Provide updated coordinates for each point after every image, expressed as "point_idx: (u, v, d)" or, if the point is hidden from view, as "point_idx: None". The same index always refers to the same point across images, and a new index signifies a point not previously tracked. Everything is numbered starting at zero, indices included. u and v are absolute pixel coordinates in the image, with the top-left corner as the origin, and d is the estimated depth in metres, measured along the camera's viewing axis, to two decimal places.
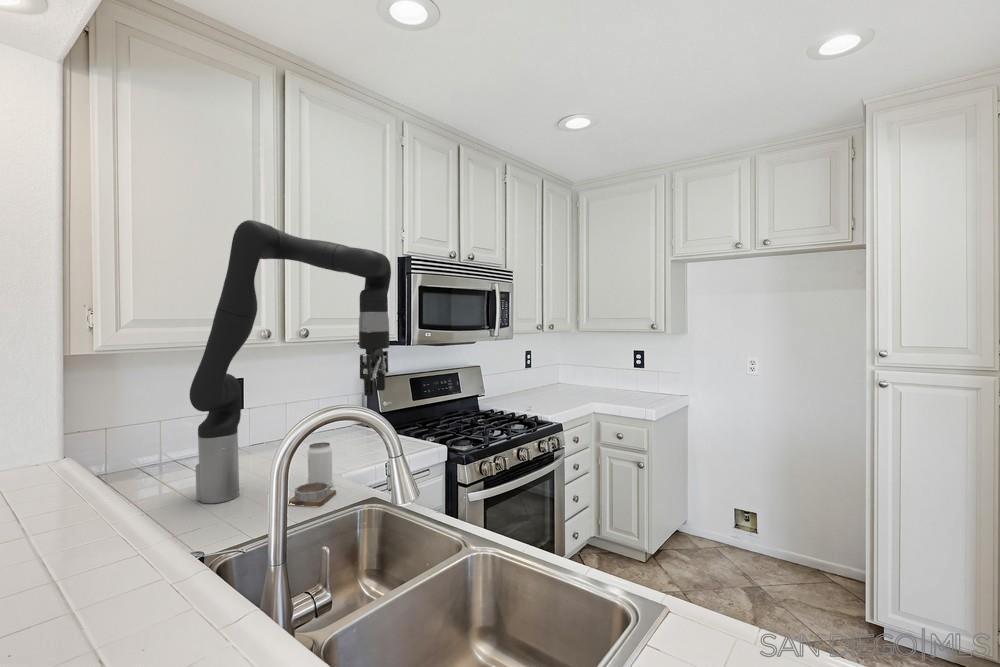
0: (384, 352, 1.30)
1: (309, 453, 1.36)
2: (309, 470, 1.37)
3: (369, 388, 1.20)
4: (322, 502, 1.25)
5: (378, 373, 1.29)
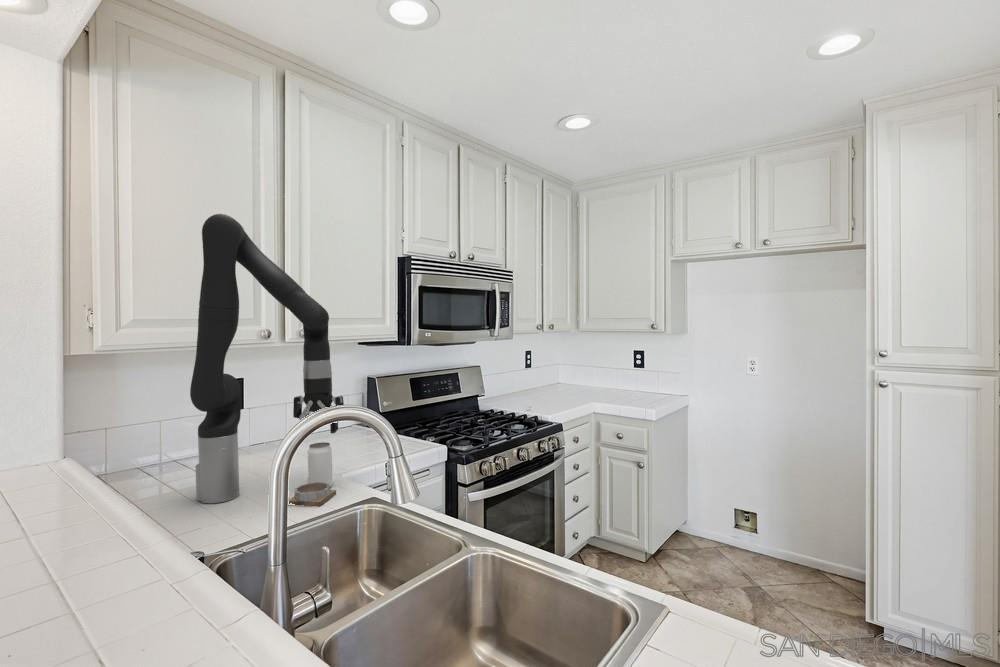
0: (300, 397, 1.40)
1: (309, 453, 1.36)
2: (309, 470, 1.37)
3: (337, 425, 1.38)
4: (322, 502, 1.25)
5: None
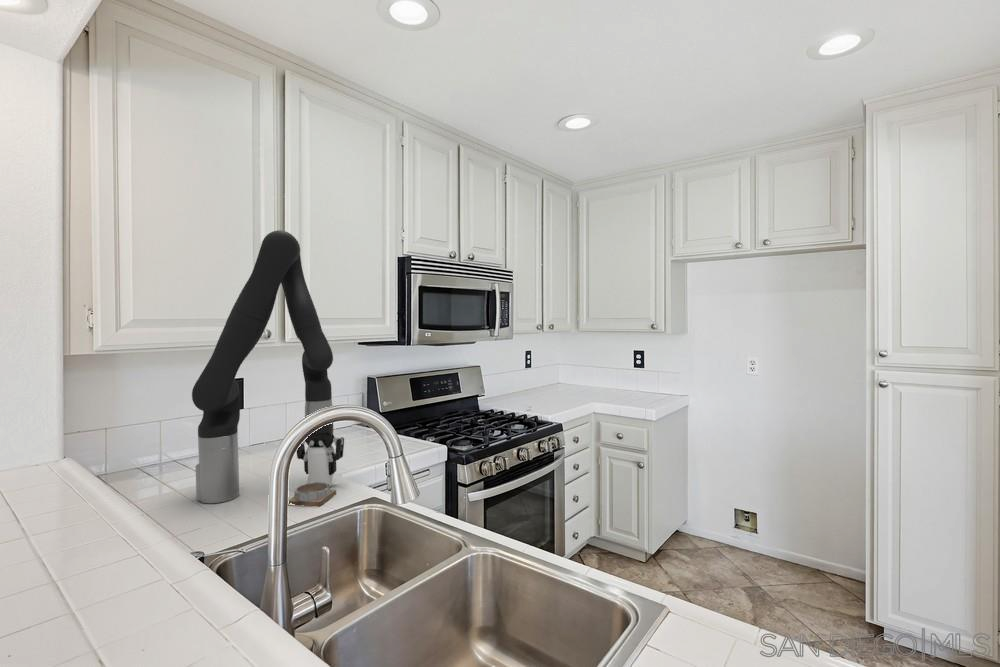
0: None
1: (309, 453, 1.36)
2: (309, 470, 1.37)
3: (335, 467, 1.39)
4: (322, 502, 1.25)
5: None
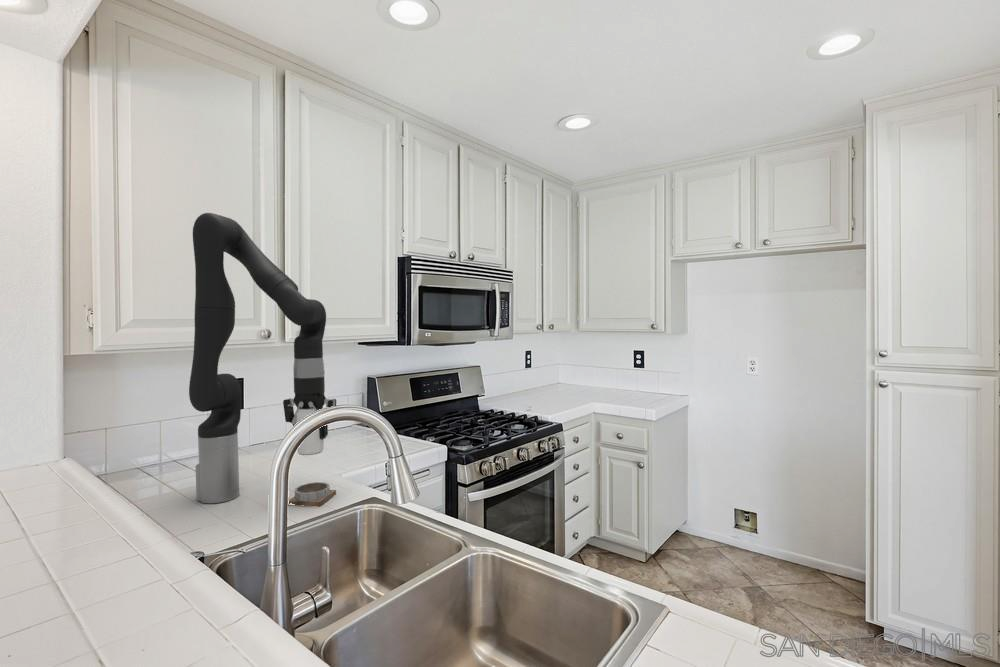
0: None
1: (298, 415, 1.26)
2: None
3: (327, 431, 1.28)
4: (322, 502, 1.25)
5: None
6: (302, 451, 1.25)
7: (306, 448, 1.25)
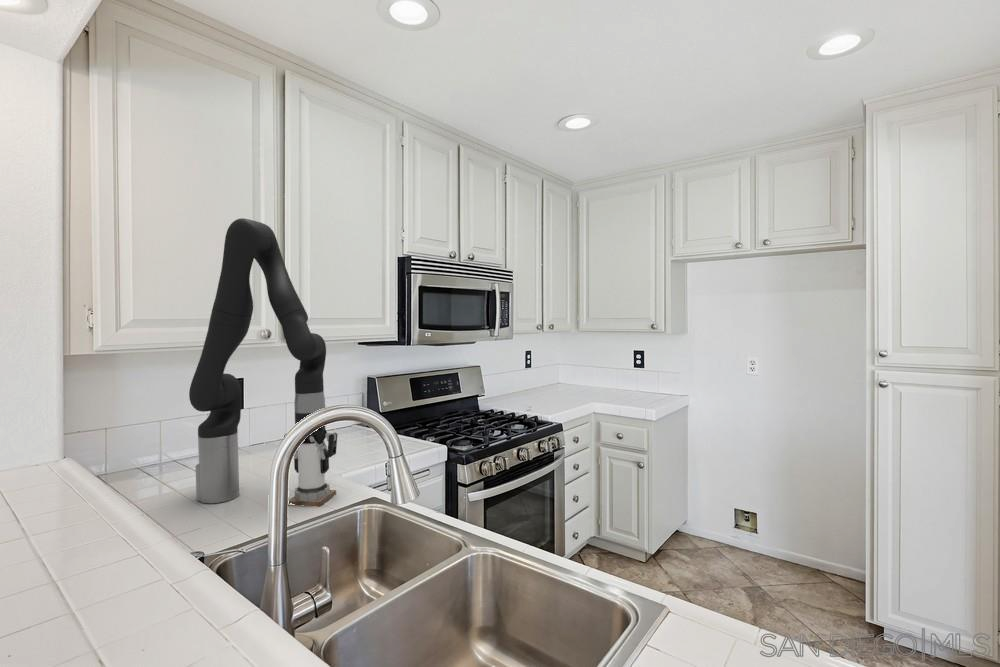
0: None
1: (299, 450, 1.26)
2: (299, 468, 1.26)
3: (328, 464, 1.28)
4: (322, 502, 1.25)
5: None
6: (303, 486, 1.26)
7: (307, 483, 1.25)
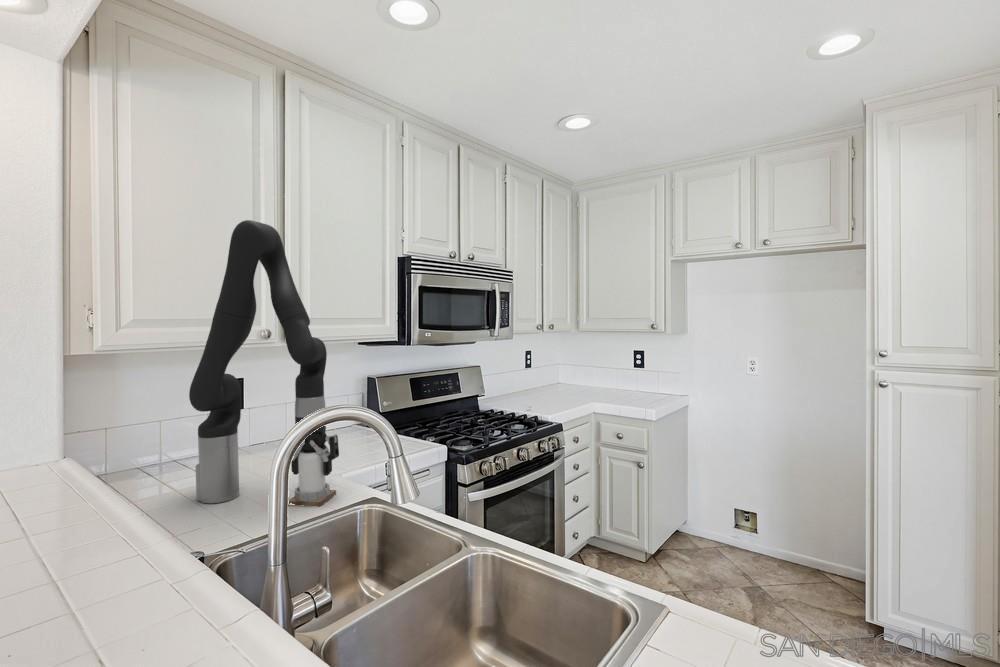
0: None
1: (300, 459, 1.26)
2: (300, 477, 1.26)
3: (331, 467, 1.28)
4: (322, 502, 1.25)
5: (295, 457, 1.29)
6: None
7: None
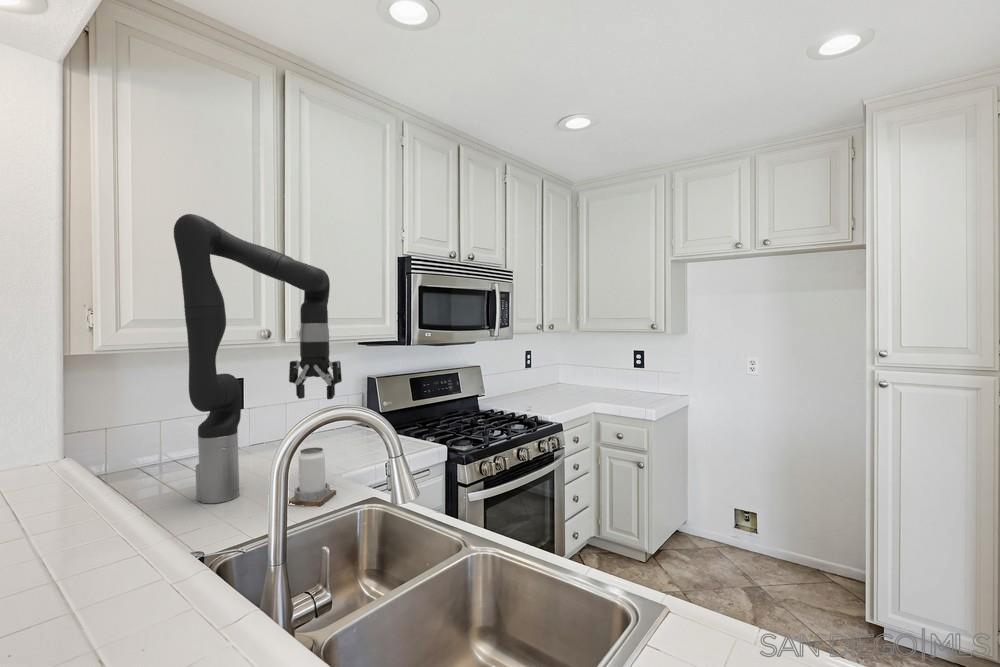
0: None
1: (300, 459, 1.26)
2: (300, 477, 1.26)
3: (334, 391, 1.34)
4: (322, 502, 1.25)
5: (300, 382, 1.34)
6: None
7: None
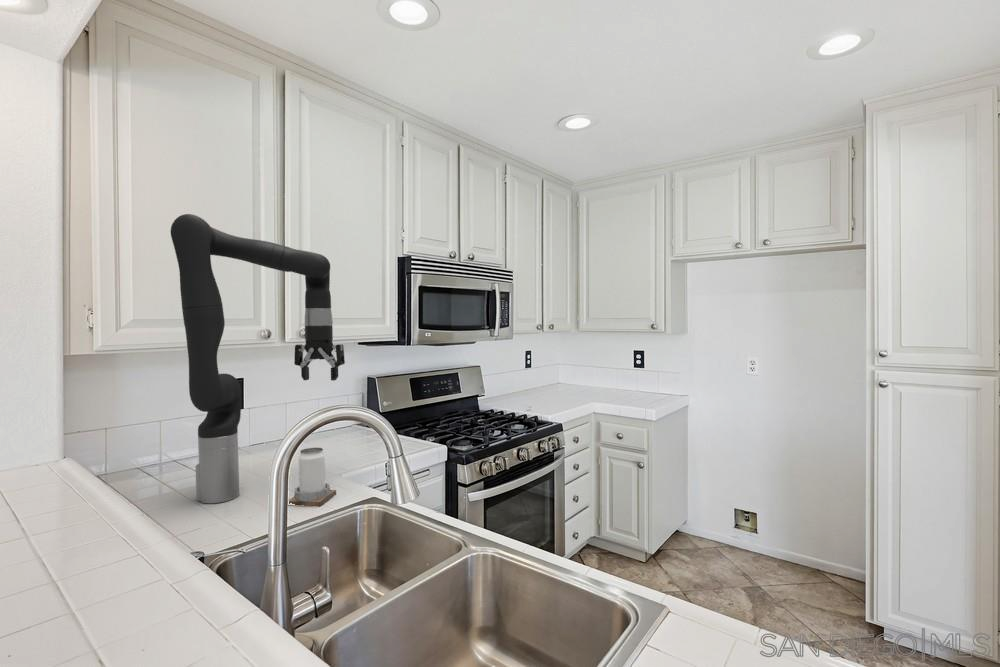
0: None
1: (300, 459, 1.26)
2: (300, 478, 1.26)
3: (337, 373, 1.41)
4: (322, 502, 1.25)
5: None
6: None
7: None
